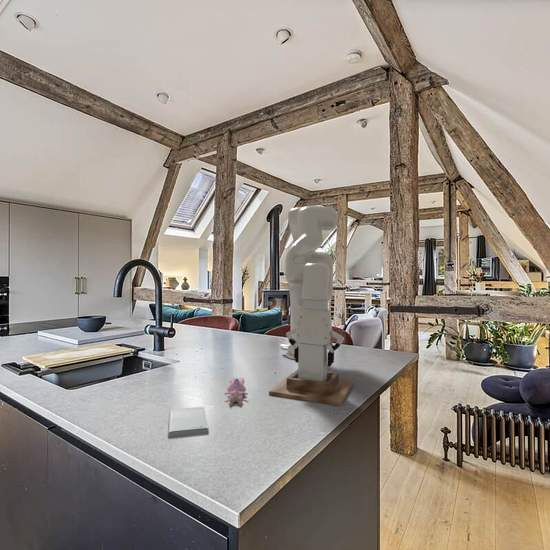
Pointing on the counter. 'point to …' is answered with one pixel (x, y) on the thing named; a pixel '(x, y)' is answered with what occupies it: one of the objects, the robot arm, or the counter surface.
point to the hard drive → (187, 421)
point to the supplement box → (312, 362)
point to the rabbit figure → (236, 390)
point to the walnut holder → (314, 389)
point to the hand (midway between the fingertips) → (313, 363)
